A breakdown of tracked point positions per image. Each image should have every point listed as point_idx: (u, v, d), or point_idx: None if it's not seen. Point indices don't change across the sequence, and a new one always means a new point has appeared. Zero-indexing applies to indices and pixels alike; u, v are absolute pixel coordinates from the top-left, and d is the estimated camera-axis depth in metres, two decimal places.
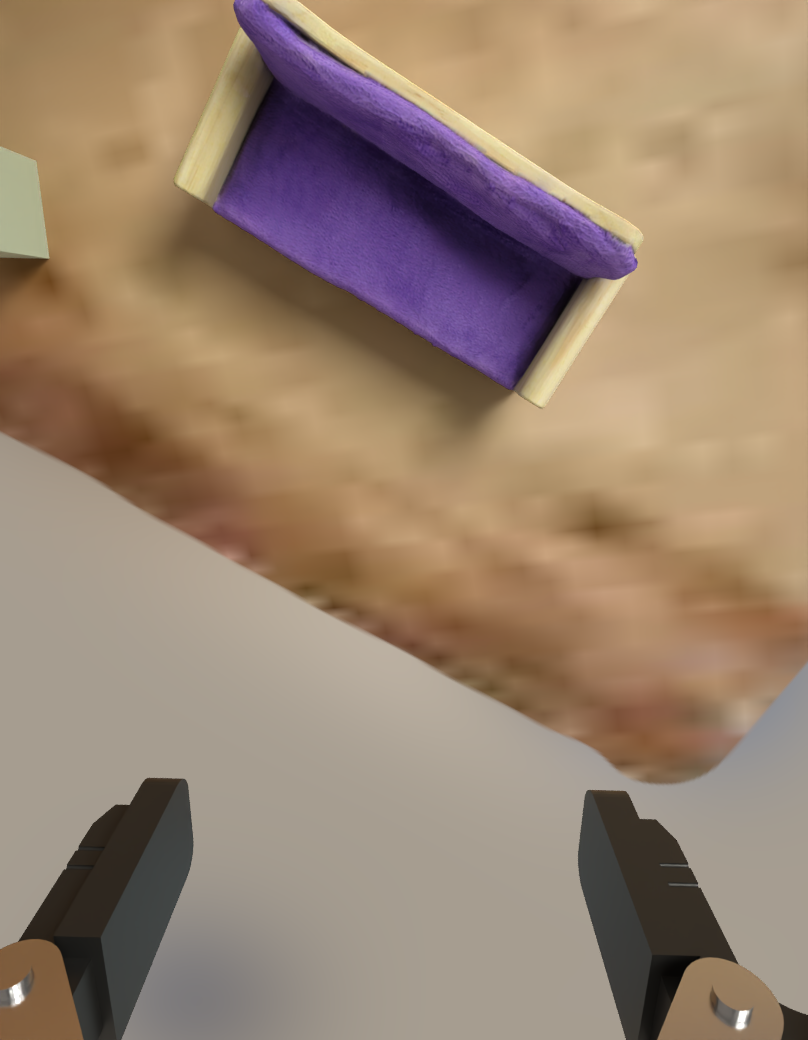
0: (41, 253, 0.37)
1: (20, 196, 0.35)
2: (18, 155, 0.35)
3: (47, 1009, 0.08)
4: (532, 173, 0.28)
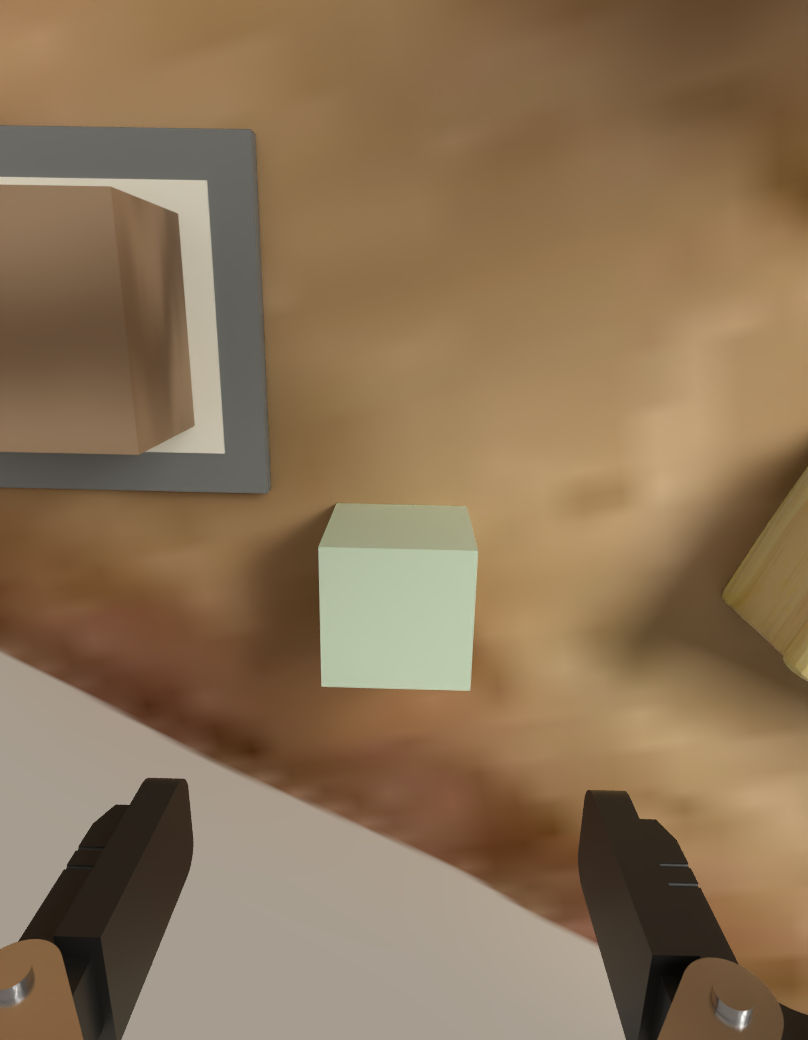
0: None
1: None
2: None
3: (47, 1009, 0.08)
4: None
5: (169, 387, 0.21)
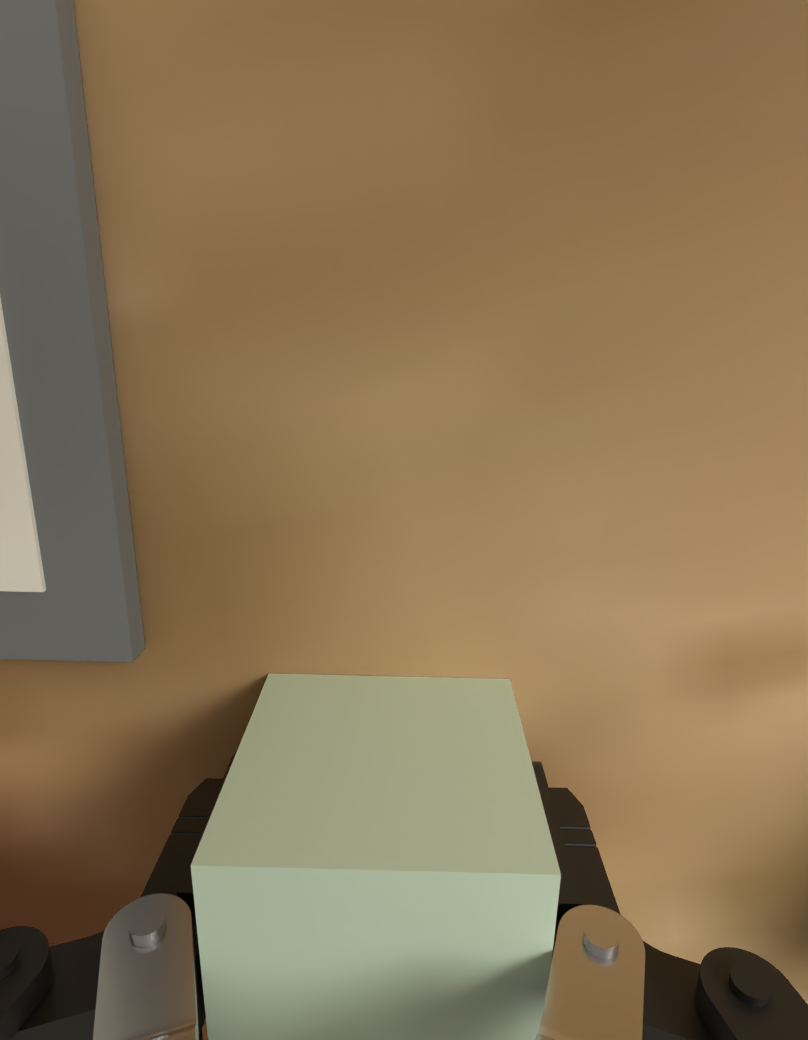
0: None
1: None
2: (521, 734, 0.12)
3: (186, 953, 0.09)
4: None
5: None
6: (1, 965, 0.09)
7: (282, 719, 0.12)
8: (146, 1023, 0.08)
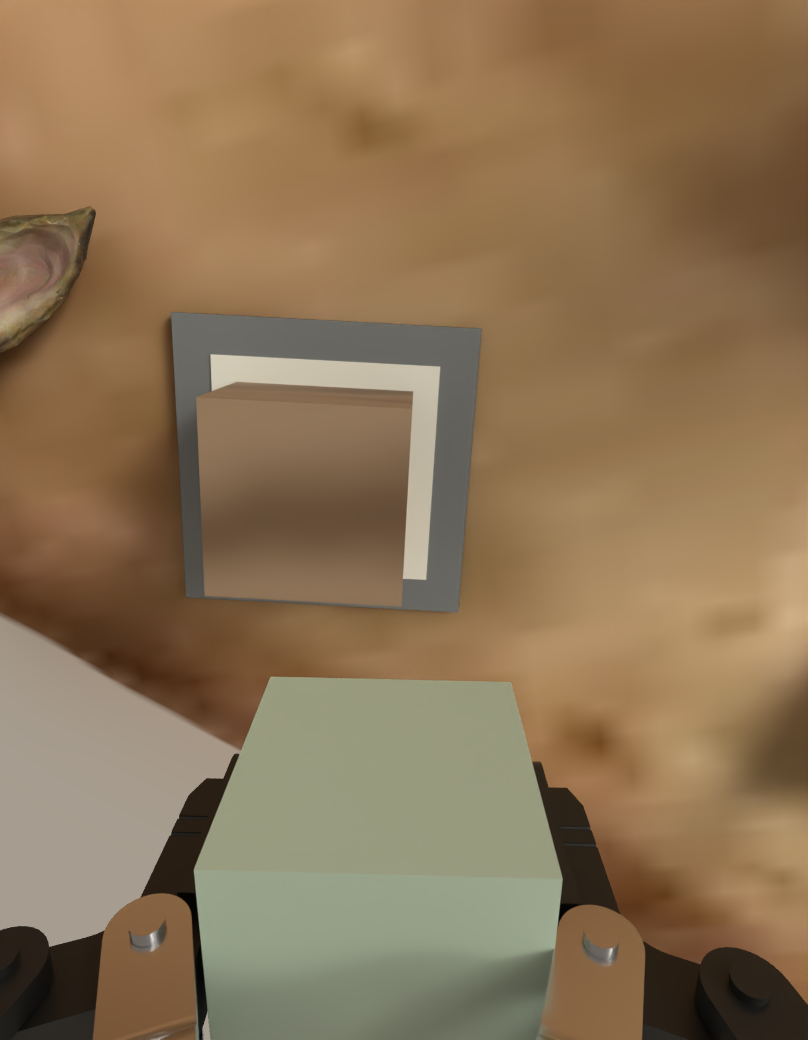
0: None
1: None
2: (523, 737, 0.12)
3: (186, 954, 0.09)
4: None
5: None
6: (1, 965, 0.09)
7: (284, 723, 0.12)
8: (146, 1023, 0.08)
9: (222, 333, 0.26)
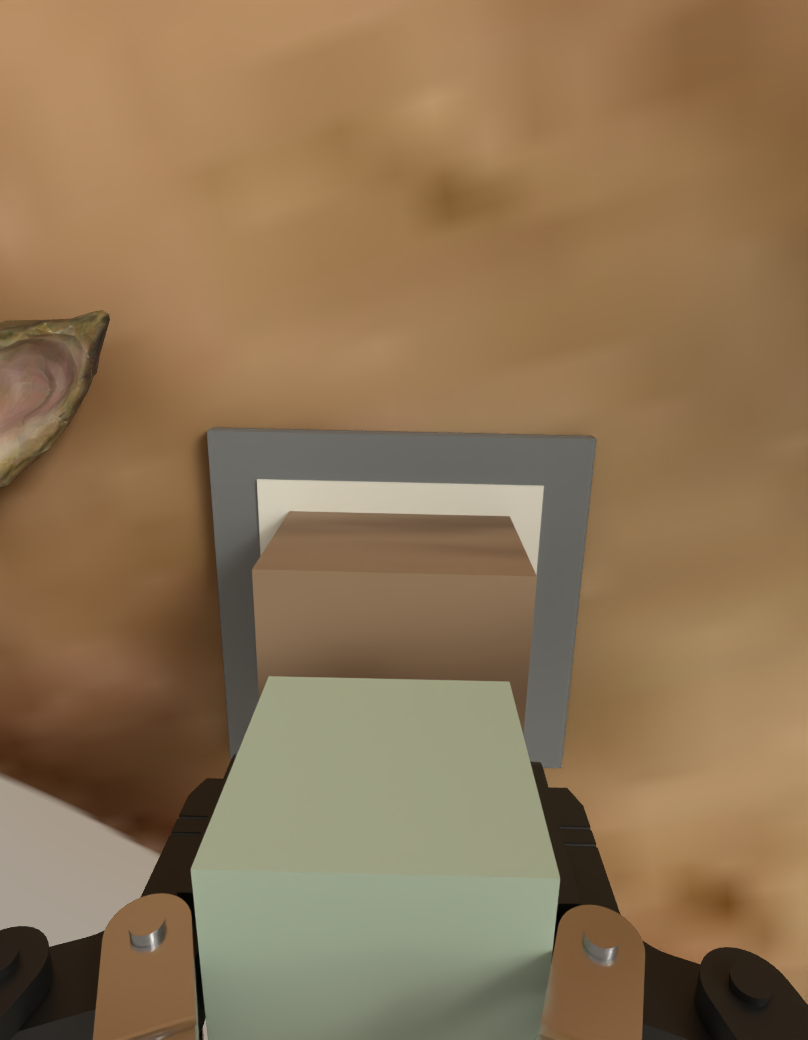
0: None
1: None
2: (521, 737, 0.12)
3: (186, 953, 0.09)
4: None
5: None
6: (1, 965, 0.09)
7: (282, 722, 0.12)
8: (146, 1023, 0.08)
9: (271, 454, 0.21)
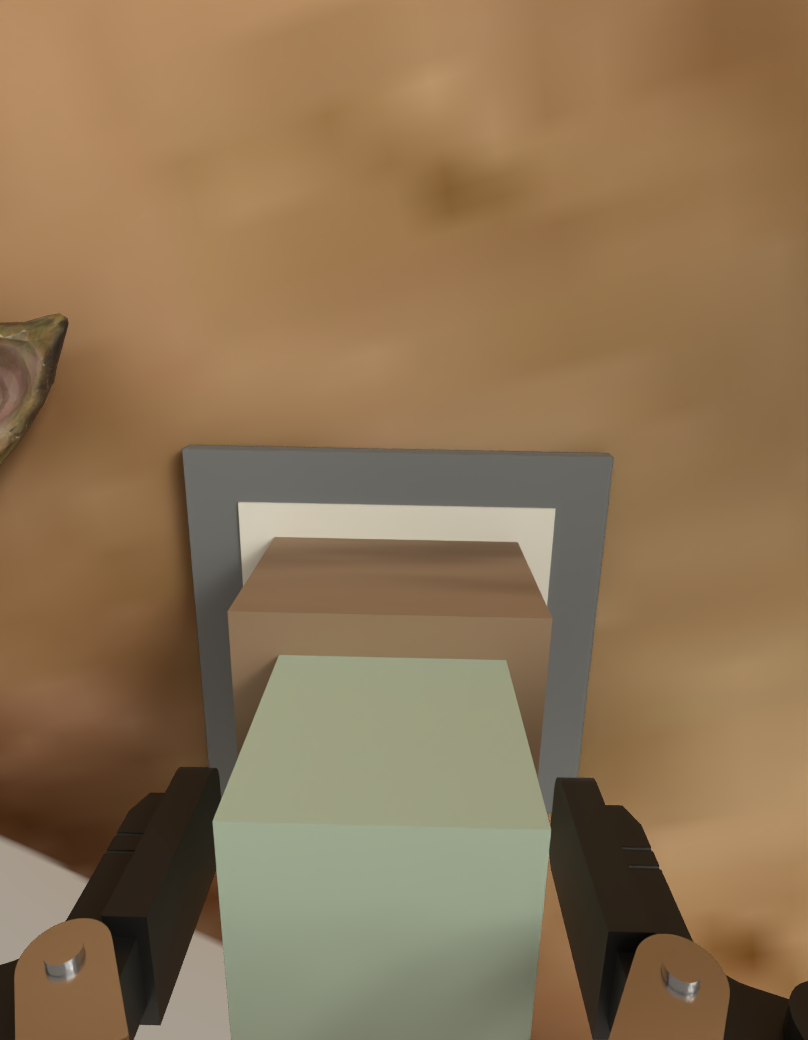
0: None
1: None
2: (516, 709, 0.13)
3: (101, 983, 0.09)
4: None
5: None
6: None
7: (293, 695, 0.13)
8: None
9: (253, 474, 0.19)
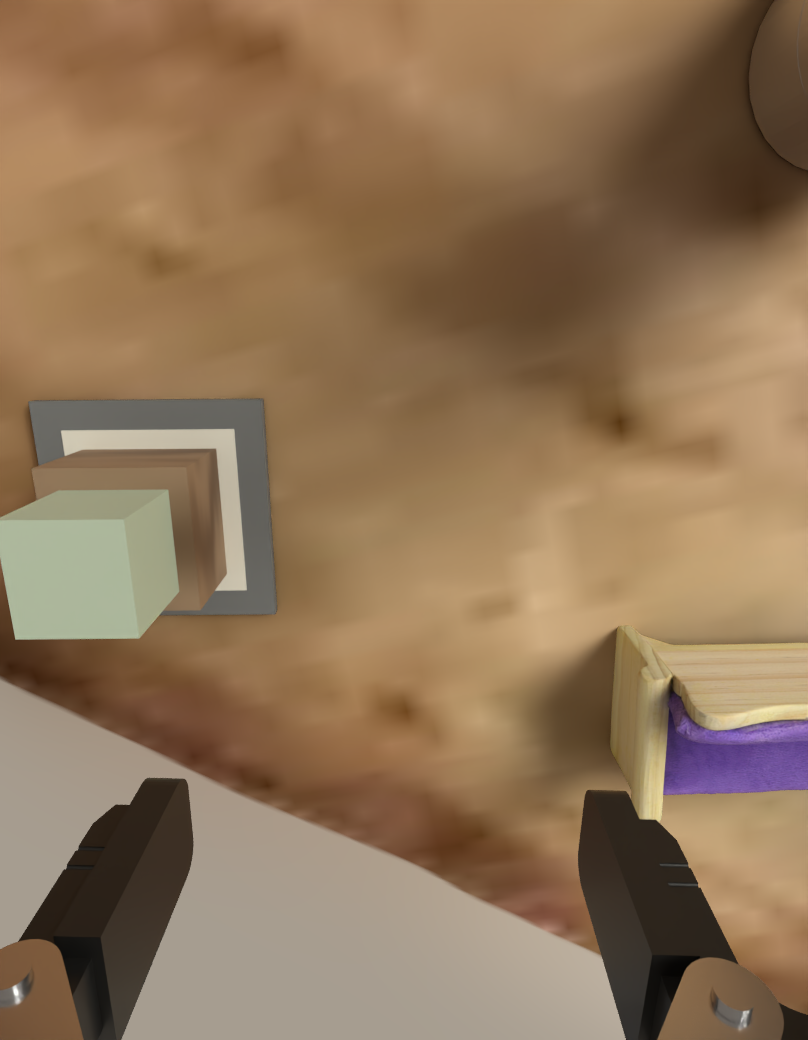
0: (173, 593, 0.31)
1: (156, 548, 0.29)
2: (153, 500, 0.28)
3: (47, 1009, 0.08)
4: None
5: (213, 559, 0.34)
6: None
7: (53, 498, 0.29)
8: None
9: (68, 414, 0.34)
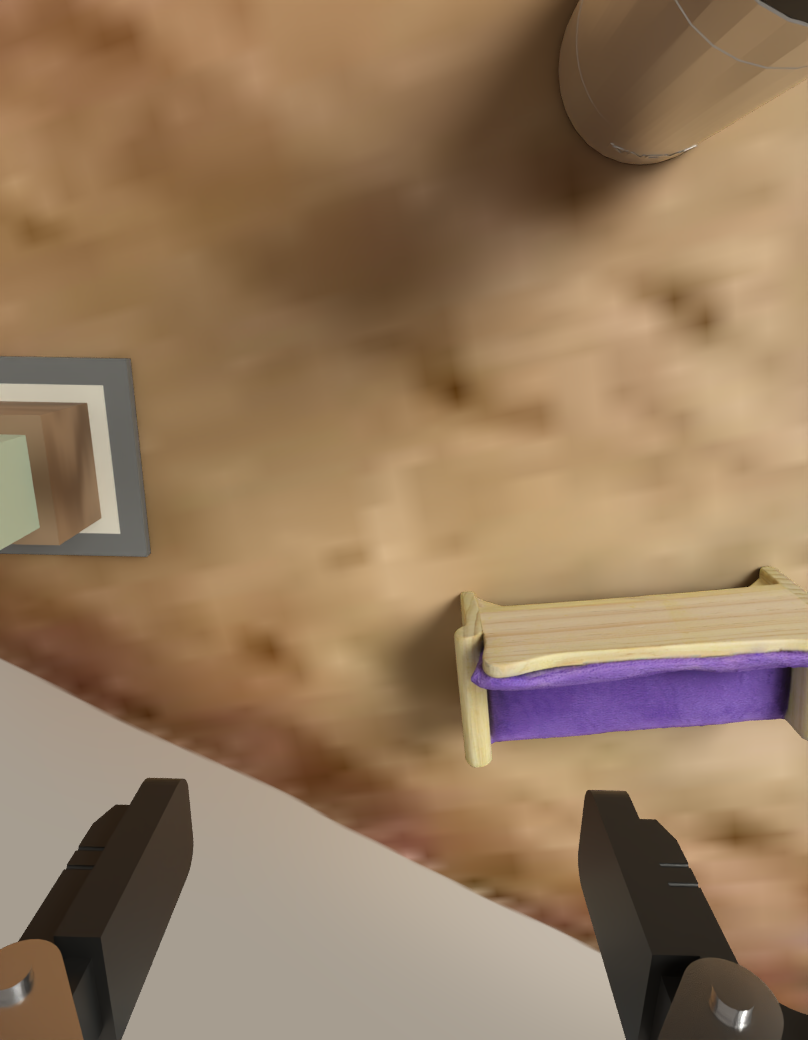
0: (30, 528, 0.34)
1: (7, 485, 0.32)
2: (4, 442, 0.32)
3: (47, 1009, 0.08)
4: (744, 648, 0.33)
5: (81, 502, 0.38)
6: None
7: None
8: None
9: None
